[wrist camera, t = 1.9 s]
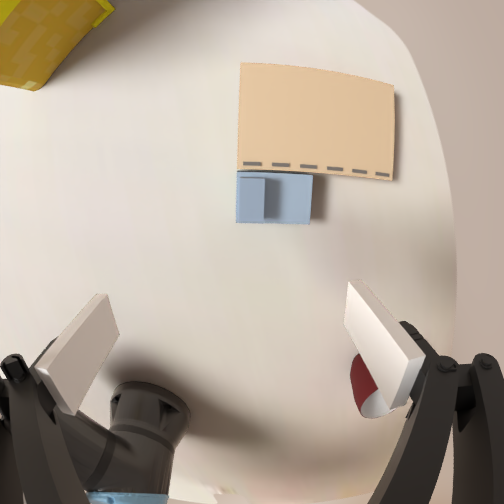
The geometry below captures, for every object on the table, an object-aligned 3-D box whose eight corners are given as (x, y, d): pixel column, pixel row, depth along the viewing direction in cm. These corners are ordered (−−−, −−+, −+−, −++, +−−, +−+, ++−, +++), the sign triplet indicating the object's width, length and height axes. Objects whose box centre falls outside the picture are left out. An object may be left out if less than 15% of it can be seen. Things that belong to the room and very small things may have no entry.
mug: (393, 325, 39) (423, 362, 30) (399, 356, 42) (424, 393, 32) (335, 354, 40) (355, 399, 31) (346, 383, 43) (364, 425, 33)
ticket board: (237, 168, 31) (237, 168, 28) (240, 70, 27) (240, 62, 24) (380, 178, 32) (392, 180, 29) (382, 89, 28) (394, 85, 25)
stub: (236, 217, 33) (235, 227, 27) (237, 170, 31) (236, 172, 26) (303, 218, 33) (315, 229, 28) (306, 173, 31) (318, 176, 26)
